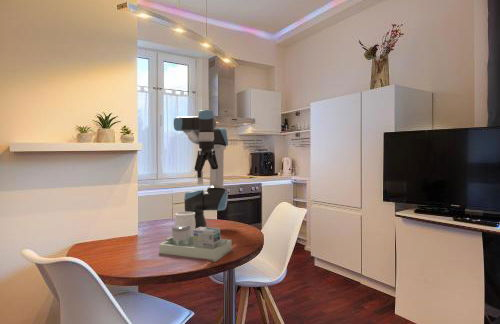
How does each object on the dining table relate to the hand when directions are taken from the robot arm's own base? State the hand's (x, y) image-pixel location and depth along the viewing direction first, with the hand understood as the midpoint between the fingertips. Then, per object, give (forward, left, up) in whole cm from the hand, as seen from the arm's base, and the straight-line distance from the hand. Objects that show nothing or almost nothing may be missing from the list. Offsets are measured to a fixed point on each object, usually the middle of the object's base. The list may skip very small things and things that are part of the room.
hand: (207, 183), depth 157 cm
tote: (+16, +3, -31) cm, 35 cm away
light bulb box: (+16, +9, -30) cm, 35 cm away
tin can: (+16, -5, -30) cm, 34 cm away
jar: (+1, -12, -31) cm, 33 cm away
